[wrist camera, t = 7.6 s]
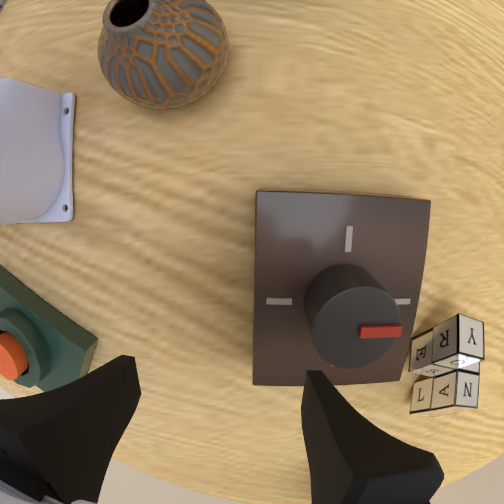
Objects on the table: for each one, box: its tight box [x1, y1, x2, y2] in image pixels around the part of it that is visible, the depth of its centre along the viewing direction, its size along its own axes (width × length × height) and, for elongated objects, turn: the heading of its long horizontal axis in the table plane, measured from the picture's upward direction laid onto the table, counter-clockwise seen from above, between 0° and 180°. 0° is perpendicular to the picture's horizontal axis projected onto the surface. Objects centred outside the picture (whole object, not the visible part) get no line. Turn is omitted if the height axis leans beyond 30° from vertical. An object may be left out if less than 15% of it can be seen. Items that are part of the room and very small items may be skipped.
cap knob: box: [304, 265, 402, 369], centre depth 15 cm, size 4×4×4 cm
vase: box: [98, 0, 229, 109], centre depth 13 cm, size 7×7×9 cm
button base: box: [0, 265, 98, 392], centre depth 21 cm, size 12×8×4 cm, turn 61°
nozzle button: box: [0, 332, 29, 380], centre depth 18 cm, size 4×4×2 cm
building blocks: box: [409, 314, 484, 417], centre depth 19 cm, size 5×5×8 cm
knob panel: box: [252, 188, 431, 386], centre depth 19 cm, size 12×10×3 cm
